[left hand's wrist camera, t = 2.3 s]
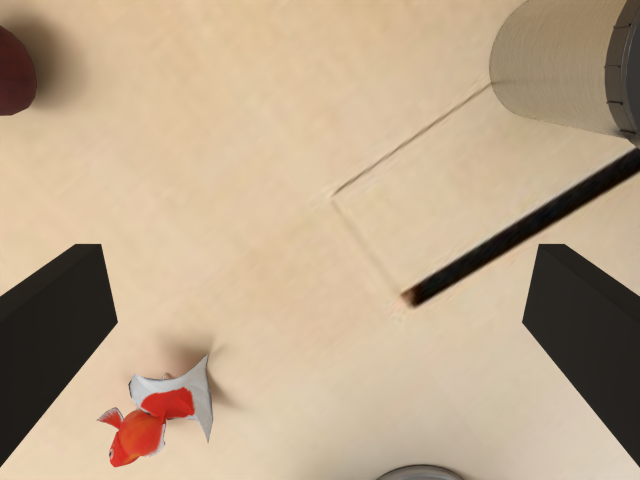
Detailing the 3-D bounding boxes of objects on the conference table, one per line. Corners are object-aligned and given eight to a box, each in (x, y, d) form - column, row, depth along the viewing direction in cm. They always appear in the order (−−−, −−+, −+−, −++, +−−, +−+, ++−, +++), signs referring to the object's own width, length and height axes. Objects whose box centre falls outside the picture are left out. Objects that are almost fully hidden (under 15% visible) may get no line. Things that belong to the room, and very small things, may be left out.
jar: (632, 43, 35) (909, 16, 19) (544, 140, 39) (715, 191, 22) (551, -38, 33) (783, -149, 17) (465, 72, 36) (587, 72, 20)
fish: (54, 403, 44) (58, 481, 37) (176, 308, 48) (203, 362, 40) (122, 441, 51) (137, 514, 43) (225, 356, 54) (256, 410, 47)
